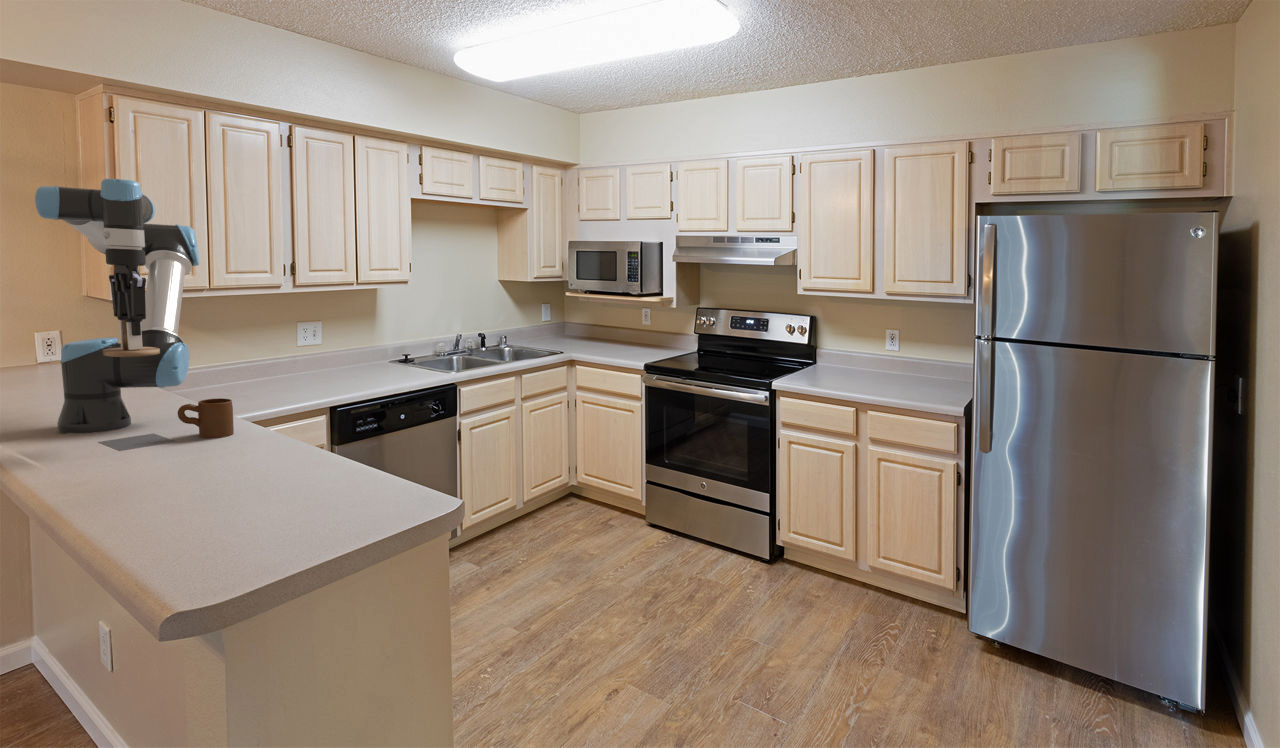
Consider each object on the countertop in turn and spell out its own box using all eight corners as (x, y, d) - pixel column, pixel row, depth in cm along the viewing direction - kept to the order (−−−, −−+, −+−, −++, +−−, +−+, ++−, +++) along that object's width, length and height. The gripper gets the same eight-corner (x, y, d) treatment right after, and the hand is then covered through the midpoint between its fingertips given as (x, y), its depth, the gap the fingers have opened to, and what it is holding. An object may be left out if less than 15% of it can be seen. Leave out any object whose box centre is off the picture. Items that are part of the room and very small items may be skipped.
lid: (94, 353, 166) (92, 319, 165) (147, 349, 175) (145, 317, 174) (115, 358, 160) (112, 323, 159) (168, 354, 169) (166, 321, 168)
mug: (181, 444, 172) (179, 406, 171) (176, 438, 178) (174, 401, 176) (237, 438, 180) (235, 402, 179) (230, 432, 186) (228, 397, 184)
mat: (97, 444, 169) (97, 441, 169) (153, 435, 179) (153, 433, 179) (120, 453, 163) (119, 450, 162) (176, 443, 173) (176, 441, 172)
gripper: (91, 246, 165) (98, 346, 169) (122, 248, 156) (129, 353, 160) (128, 247, 171) (134, 344, 175) (159, 249, 163) (165, 350, 166)
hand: (131, 348), depth 167 cm, fingers closed on lid, 3 cm apart
